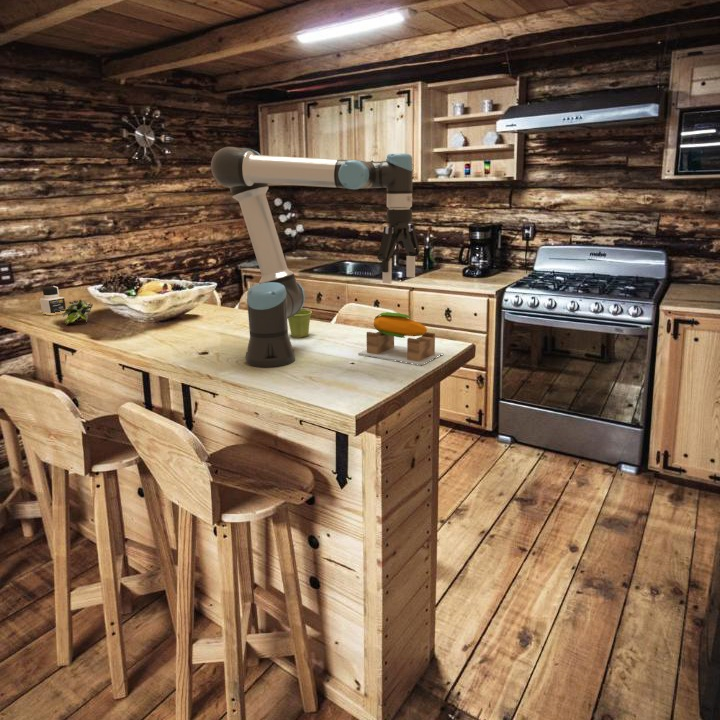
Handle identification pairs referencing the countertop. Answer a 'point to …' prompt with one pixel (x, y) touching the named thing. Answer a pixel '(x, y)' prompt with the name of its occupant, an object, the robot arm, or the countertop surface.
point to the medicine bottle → (52, 300)
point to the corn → (398, 325)
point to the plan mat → (399, 355)
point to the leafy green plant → (77, 311)
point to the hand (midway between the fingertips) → (399, 280)
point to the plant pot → (300, 323)
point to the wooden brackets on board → (415, 347)
